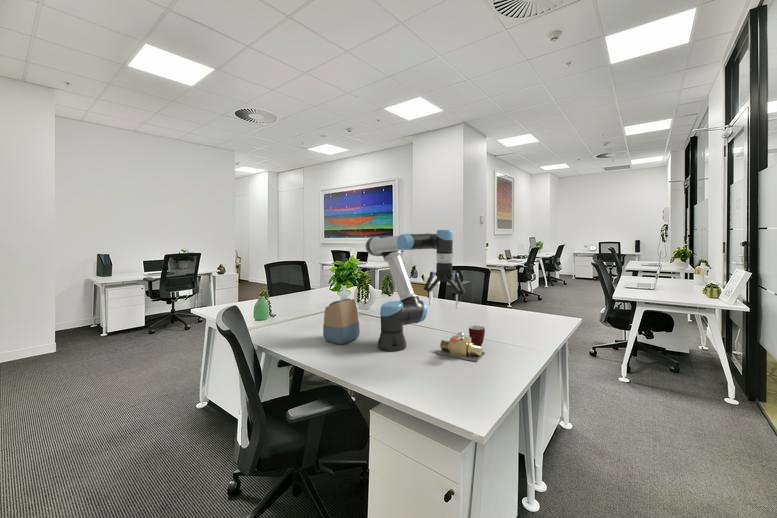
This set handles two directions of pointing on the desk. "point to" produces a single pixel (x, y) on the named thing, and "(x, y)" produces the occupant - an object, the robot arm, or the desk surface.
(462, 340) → the valve block
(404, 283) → the robot arm
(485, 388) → the desk surface
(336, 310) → the two-tone tapered canister
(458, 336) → the lever
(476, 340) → the mug
